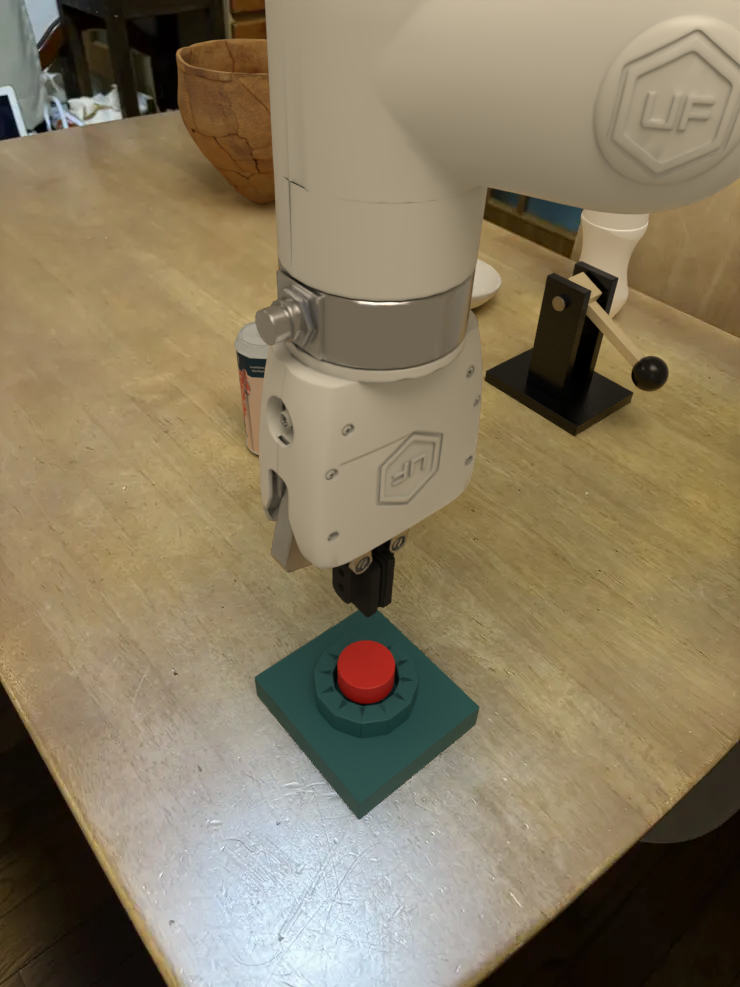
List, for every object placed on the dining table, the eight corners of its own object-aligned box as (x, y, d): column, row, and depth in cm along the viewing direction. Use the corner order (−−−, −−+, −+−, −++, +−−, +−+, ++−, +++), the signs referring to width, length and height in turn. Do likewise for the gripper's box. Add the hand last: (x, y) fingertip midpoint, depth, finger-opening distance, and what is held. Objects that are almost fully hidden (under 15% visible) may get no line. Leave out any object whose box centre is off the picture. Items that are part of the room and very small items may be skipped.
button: (405, 682, 48) (407, 667, 47) (362, 715, 46) (362, 699, 45) (369, 646, 50) (370, 630, 49) (326, 675, 48) (325, 660, 47)
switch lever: (661, 390, 70) (682, 370, 67) (640, 403, 68) (662, 383, 66) (571, 290, 73) (588, 266, 70) (550, 300, 71) (566, 276, 69)
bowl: (207, 174, 120) (190, 29, 106) (334, 179, 119) (333, 34, 106) (178, 229, 104) (153, 68, 91) (323, 234, 104) (320, 74, 91)
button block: (476, 724, 50) (483, 691, 47) (359, 820, 45) (359, 789, 42) (369, 620, 56) (370, 585, 53) (256, 695, 51) (251, 660, 48)
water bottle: (556, 321, 88) (607, 87, 71) (565, 293, 93) (614, 68, 76) (619, 332, 87) (686, 95, 70) (624, 303, 92) (687, 76, 75)
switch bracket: (630, 402, 77) (667, 287, 68) (574, 436, 72) (605, 318, 64) (540, 351, 83) (563, 240, 75) (484, 380, 79) (501, 266, 70)
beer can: (261, 424, 73) (250, 313, 65) (306, 436, 72) (300, 324, 63) (237, 453, 69) (222, 340, 61) (283, 466, 68) (275, 353, 60)
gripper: (272, 413, 24) (291, 717, 36) (570, 282, 31) (501, 573, 44) (157, 316, 28) (210, 619, 41) (445, 220, 35) (415, 502, 48)
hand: (361, 594), depth 42 cm, fingers closed
